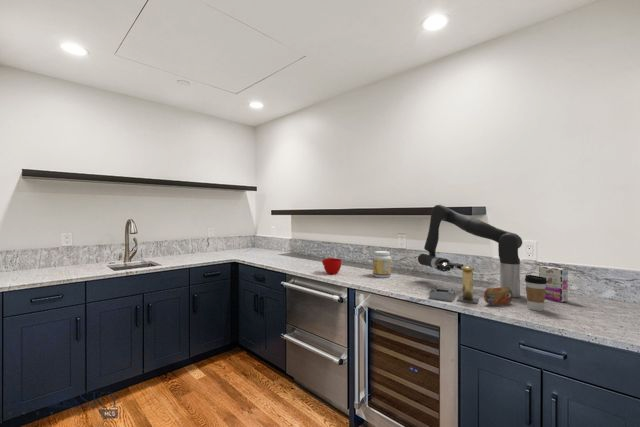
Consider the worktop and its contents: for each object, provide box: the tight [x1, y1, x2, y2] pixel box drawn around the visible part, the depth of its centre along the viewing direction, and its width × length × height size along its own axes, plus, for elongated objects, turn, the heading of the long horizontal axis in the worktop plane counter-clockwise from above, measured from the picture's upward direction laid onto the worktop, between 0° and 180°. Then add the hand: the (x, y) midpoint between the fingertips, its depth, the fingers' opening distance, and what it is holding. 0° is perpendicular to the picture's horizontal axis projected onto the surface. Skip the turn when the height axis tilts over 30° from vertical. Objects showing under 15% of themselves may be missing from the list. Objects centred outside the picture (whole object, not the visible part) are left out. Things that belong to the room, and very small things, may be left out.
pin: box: [461, 265, 475, 300], centre depth 155 cm, size 6×6×16 cm
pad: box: [456, 295, 480, 305], centre depth 155 cm, size 9×9×1 cm
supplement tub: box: [372, 250, 392, 279], centre depth 212 cm, size 12×12×17 cm
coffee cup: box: [524, 274, 547, 312], centre depth 142 cm, size 8×8×15 cm
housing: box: [428, 286, 456, 302], centre depth 160 cm, size 11×11×4 cm
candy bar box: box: [538, 265, 569, 303], centre depth 158 cm, size 11×5×16 cm, turn 21°
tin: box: [483, 286, 513, 307], centre depth 149 cm, size 15×3×8 cm, turn 105°
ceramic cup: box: [321, 257, 342, 275], centre depth 222 cm, size 13×17×10 cm
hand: (456, 268), depth 165 cm, fingers open, 8 cm apart
